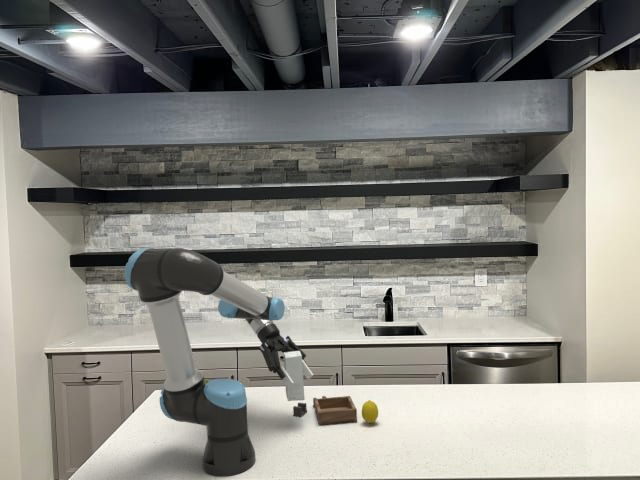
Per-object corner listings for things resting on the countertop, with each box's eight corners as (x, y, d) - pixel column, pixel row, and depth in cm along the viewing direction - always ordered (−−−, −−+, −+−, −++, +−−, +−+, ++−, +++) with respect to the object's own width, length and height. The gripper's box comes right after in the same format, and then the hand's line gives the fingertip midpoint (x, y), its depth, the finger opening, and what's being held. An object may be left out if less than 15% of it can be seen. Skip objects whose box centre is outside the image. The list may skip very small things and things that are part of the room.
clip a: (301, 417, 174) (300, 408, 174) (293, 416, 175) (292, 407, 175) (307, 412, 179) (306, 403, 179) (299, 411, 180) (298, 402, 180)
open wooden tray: (357, 422, 168) (356, 409, 168) (319, 426, 166) (318, 412, 166) (350, 408, 181) (349, 395, 181) (315, 411, 179) (314, 399, 179)
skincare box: (304, 400, 164) (303, 355, 163) (286, 402, 163) (284, 357, 163) (302, 392, 172) (300, 349, 172) (285, 393, 171) (283, 351, 171)
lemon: (382, 423, 166) (381, 399, 166) (372, 428, 162) (371, 404, 162) (368, 419, 170) (367, 396, 170) (358, 424, 166) (357, 401, 166)
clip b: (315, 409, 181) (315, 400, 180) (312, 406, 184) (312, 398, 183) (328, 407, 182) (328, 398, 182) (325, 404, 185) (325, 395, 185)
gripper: (281, 330, 185) (315, 379, 176) (237, 342, 168) (272, 397, 158) (291, 317, 182) (327, 366, 172) (247, 328, 164) (284, 383, 155)
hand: (301, 381), depth 165 cm, fingers closed on skincare box, 9 cm apart
